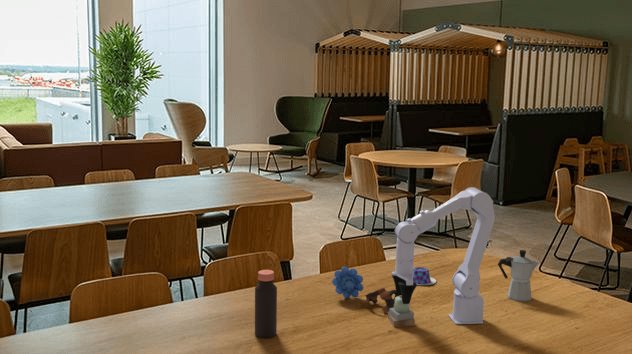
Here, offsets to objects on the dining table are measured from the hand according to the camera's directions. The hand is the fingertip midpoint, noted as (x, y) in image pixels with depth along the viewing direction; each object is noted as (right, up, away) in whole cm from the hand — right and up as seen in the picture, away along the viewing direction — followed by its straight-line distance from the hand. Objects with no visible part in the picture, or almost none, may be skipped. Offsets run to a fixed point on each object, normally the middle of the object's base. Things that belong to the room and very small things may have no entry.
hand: (403, 299), depth 213 cm
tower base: (0, -8, +1) cm, 8 cm away
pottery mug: (-5, -6, +14) cm, 16 cm away
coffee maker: (+45, -4, +26) cm, 52 cm away
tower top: (0, -6, +1) cm, 6 cm away
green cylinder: (0, -4, +1) cm, 4 cm away
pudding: (+13, -1, +43) cm, 44 cm away
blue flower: (-17, -4, +21) cm, 27 cm away
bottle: (-44, -9, -10) cm, 46 cm away
